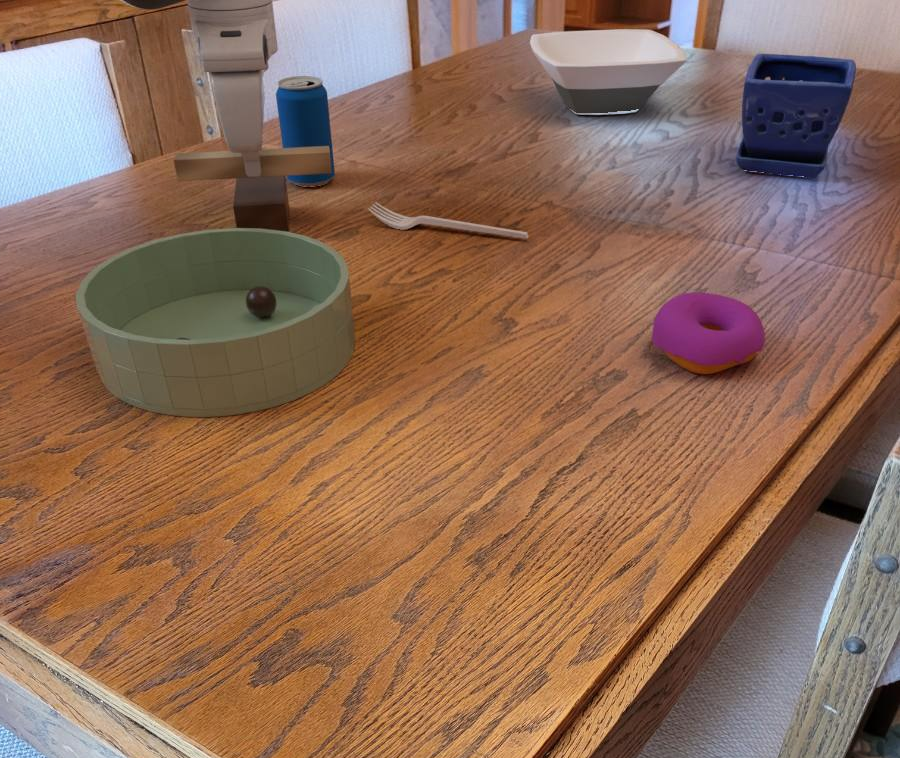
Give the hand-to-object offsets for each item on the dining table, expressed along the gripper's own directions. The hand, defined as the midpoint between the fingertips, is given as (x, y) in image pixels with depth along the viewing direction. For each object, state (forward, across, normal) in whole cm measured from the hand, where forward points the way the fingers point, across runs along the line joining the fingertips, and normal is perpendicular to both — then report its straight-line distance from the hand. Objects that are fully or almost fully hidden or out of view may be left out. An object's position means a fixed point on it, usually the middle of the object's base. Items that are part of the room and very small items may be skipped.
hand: (254, 169), depth 107 cm
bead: (+4, +27, +1) cm, 27 cm away
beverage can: (+6, -14, +6) cm, 17 cm away
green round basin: (+6, +32, -3) cm, 33 cm away
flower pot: (+6, -9, +70) cm, 71 cm away
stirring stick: (0, 0, 0) cm, 0 cm away
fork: (+6, +6, +22) cm, 24 cm away
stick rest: (+6, 0, 0) cm, 6 cm away
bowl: (+6, -41, +53) cm, 68 cm away
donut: (+6, +40, +42) cm, 59 cm away
